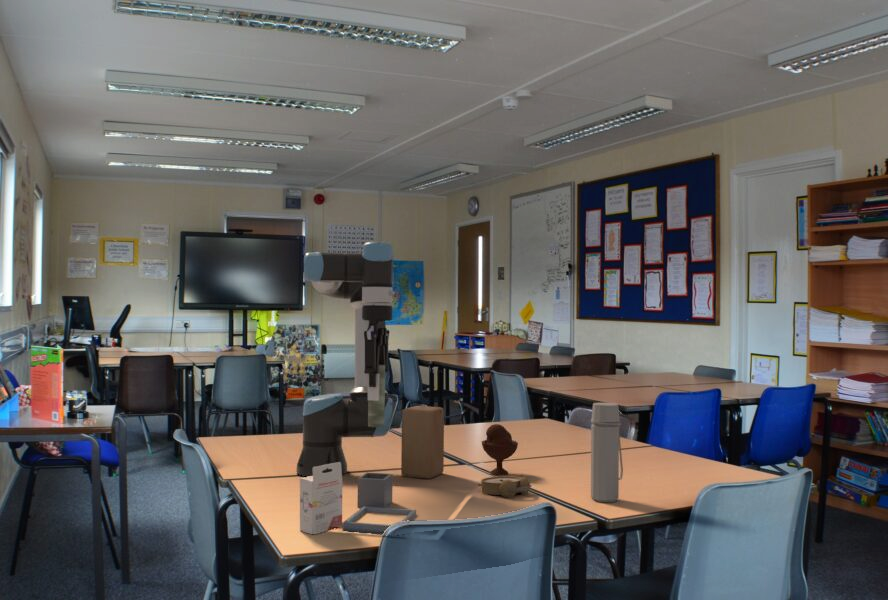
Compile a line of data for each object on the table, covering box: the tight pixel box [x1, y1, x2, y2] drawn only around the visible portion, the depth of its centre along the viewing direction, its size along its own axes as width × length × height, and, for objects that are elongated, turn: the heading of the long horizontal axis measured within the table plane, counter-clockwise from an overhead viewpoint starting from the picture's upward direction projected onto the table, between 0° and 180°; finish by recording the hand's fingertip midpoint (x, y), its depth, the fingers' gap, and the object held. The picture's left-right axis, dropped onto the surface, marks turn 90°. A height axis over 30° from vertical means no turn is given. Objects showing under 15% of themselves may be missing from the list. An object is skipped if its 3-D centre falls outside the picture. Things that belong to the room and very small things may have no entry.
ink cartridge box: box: [299, 462, 343, 535], centre depth 164 cm, size 9×5×15 cm, turn 138°
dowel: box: [368, 365, 386, 427], centre depth 182 cm, size 4×4×15 cm
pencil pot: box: [356, 472, 394, 509], centre depth 181 cm, size 7×7×8 cm
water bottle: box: [590, 402, 624, 503], centre depth 193 cm, size 9×8×25 cm
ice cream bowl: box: [481, 423, 519, 476], centre depth 223 cm, size 11×11×15 cm
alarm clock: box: [477, 475, 532, 499], centre depth 199 cm, size 11×5×15 cm
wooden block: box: [400, 405, 445, 480], centre depth 220 cm, size 10×10×20 cm
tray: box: [342, 506, 417, 536], centre depth 167 cm, size 13×14×2 cm
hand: (376, 399), depth 182 cm, fingers closed on dowel, 4 cm apart
